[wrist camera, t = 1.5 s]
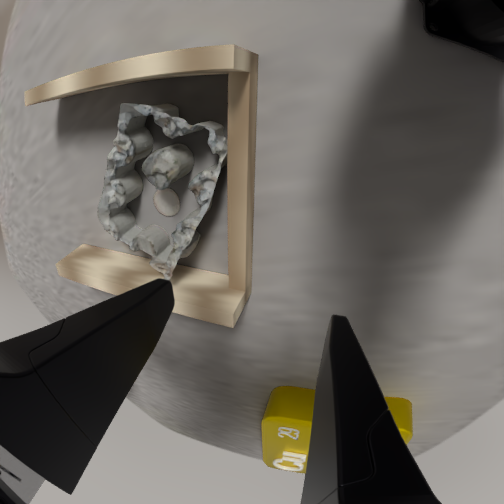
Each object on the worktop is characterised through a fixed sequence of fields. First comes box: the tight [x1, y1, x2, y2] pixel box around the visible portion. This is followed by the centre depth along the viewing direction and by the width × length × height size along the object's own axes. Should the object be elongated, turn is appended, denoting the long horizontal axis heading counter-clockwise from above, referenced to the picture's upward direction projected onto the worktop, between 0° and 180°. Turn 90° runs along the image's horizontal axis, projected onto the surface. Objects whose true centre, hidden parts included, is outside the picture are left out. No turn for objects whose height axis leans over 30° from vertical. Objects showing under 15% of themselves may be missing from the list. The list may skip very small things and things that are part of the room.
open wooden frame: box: [25, 45, 258, 328], centre depth 19 cm, size 17×16×4 cm
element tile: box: [261, 386, 413, 474], centre depth 28 cm, size 15×15×5 cm
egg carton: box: [98, 103, 227, 281], centre depth 19 cm, size 11×8×4 cm
